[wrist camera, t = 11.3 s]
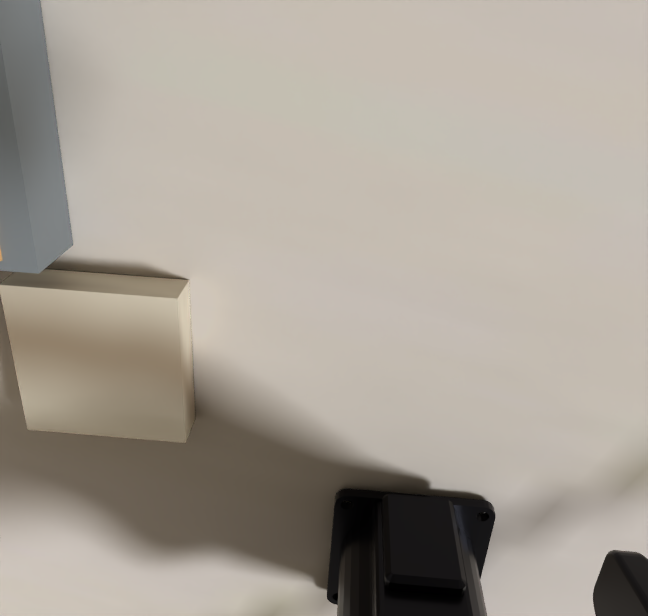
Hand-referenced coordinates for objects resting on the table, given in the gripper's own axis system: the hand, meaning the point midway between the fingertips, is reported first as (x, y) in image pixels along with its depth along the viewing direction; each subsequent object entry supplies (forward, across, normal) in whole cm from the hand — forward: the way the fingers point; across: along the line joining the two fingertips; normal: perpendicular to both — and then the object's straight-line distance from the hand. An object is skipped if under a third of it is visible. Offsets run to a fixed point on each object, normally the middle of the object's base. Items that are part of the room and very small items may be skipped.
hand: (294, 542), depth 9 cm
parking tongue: (+13, +8, +5) cm, 16 cm away
